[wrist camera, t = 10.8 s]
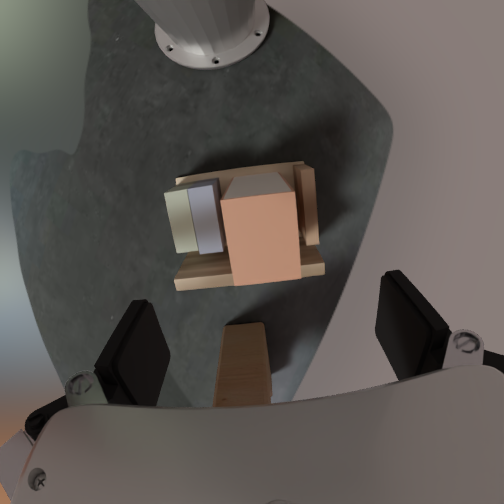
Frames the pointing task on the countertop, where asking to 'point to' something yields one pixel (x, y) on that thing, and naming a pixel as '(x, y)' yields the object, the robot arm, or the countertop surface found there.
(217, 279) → the shelf
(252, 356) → the decorative block
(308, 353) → the countertop surface
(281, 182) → the tall pink rectangular prism
